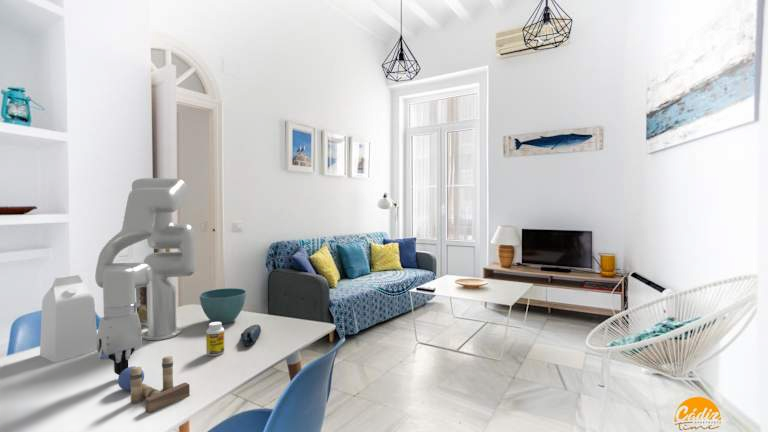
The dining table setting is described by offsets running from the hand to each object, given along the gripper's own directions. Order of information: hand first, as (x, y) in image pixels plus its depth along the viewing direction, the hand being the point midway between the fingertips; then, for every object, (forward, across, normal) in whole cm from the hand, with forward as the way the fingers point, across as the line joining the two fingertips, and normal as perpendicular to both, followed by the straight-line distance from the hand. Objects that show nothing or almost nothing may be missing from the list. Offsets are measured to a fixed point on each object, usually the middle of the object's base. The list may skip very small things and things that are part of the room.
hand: (121, 373), depth 111 cm
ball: (-2, +2, +9) cm, 9 cm away
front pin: (0, +1, +13) cm, 13 cm away
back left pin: (+2, -4, +17) cm, 18 cm away
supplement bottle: (+2, -26, +6) cm, 27 cm away
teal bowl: (+2, -49, -22) cm, 54 cm away
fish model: (+2, -42, +4) cm, 43 cm away
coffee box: (+2, -31, -45) cm, 55 cm away
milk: (+2, 0, -36) cm, 36 cm away
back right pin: (+2, +4, +17) cm, 18 cm away
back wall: (+2, 0, +24) cm, 25 cm away
